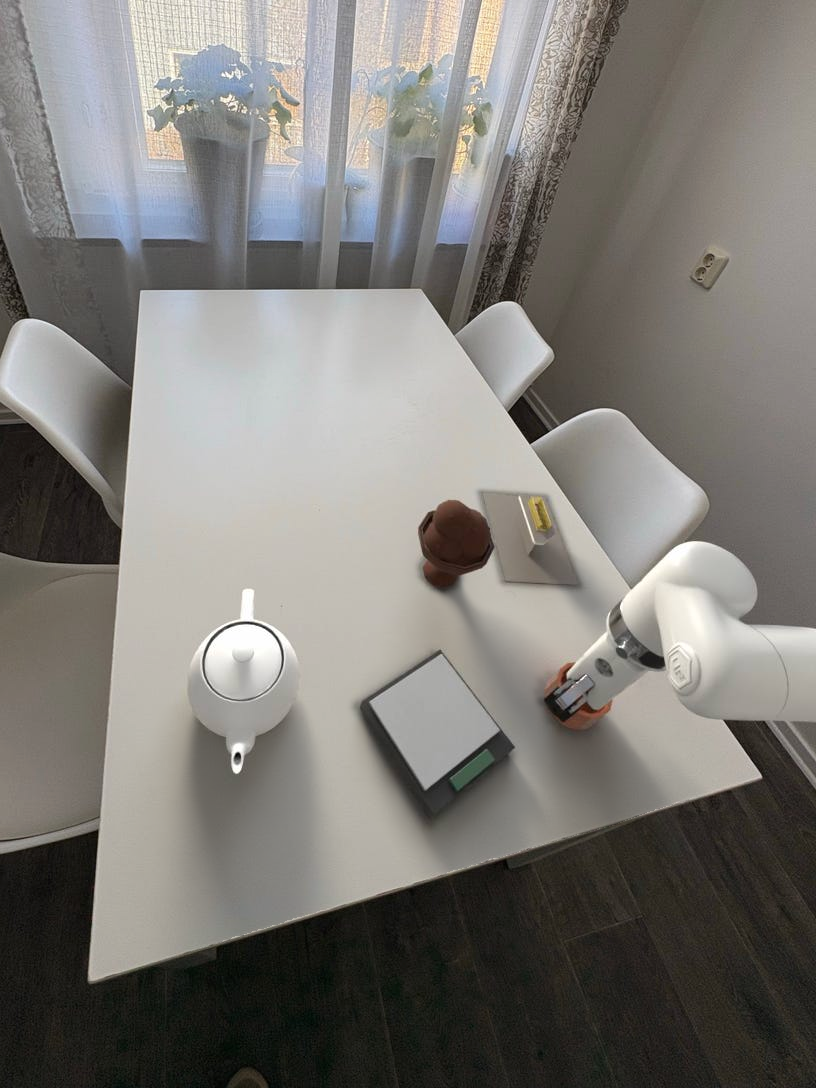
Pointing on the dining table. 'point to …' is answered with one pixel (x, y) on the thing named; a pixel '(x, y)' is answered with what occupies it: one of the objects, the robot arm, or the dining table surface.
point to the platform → (528, 540)
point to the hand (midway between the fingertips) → (578, 689)
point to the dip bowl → (586, 712)
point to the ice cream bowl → (453, 542)
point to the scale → (435, 731)
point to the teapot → (243, 680)
